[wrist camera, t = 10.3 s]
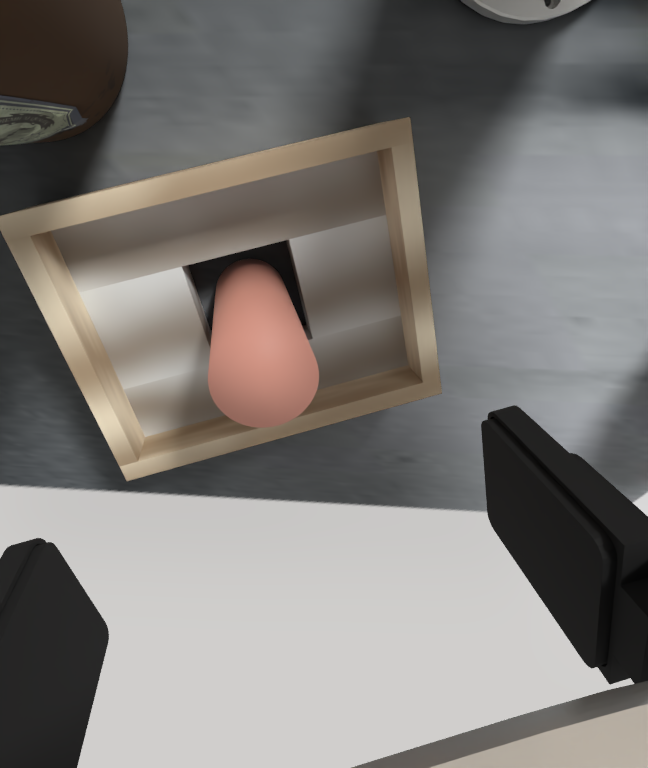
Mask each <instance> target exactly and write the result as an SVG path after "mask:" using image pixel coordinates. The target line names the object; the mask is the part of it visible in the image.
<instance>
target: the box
mask: <svg viewBox="0 0 648 768" xmlns="http://www.w3.org/2000/svg"><path fill="white" fill-rule="evenodd" d="M0 231H1V233H2V235H3V237H4V239H5V241H6V243H7V245H8V247H9V248H10V250H11V252H12V254H13V256H14V258H15V260H16V262H17V264H18V266H19V268H20V270H21V272H22V274H23V276H24V278H25V280H26V282H27V284H28V286H29V288H30V290H31V292H32V294H33V296H34V298H35V300H36V302H37V304H38V306H39V308H40V310H41V312H42V314H43V316H44V318H45V320H46V322H47V324H48V326H49V328H50V330H51V332H52V334H53V336H54V338H55V340H56V342H57V344H58V346H59V348H60V350H61V352H62V353H63V355H64V357H65V359H66V361H67V363H68V365H69V367H70V369H71V371H72V373H73V375H74V377H75V379H76V381H77V383H78V385H79V387H80V389H81V391H82V393H83V395H84V397H85V399H86V401H87V403H88V405H89V407H90V409H91V411H92V413H93V415H94V417H95V419H96V421H97V423H98V425H99V427H100V429H101V431H102V433H103V435H104V437H105V439H106V441H107V443H108V445H109V447H110V449H111V451H112V453H113V455H114V457H115V458H116V460H117V462H118V464H119V466H120V468H121V470H122V472H123V474H124V476H125V478H126V480H127V481H129V480H133V479H137V478H140V477H144V476H147V475H151V474H155V473H158V472H162V471H165V470H169V469H173V468H176V467H180V466H183V465H187V464H190V463H194V462H198V461H201V460H205V459H208V458H212V457H216V456H219V455H223V454H226V453H230V452H233V451H237V450H241V449H244V448H248V447H251V446H255V445H259V444H262V443H266V442H269V441H273V440H277V439H280V438H284V437H287V436H291V435H294V434H298V433H302V432H305V431H309V430H312V429H316V428H320V427H323V426H327V425H330V424H334V423H337V422H341V421H345V420H348V419H352V418H355V417H359V416H363V415H366V414H370V413H373V412H377V411H381V410H384V409H388V408H391V407H395V406H398V405H402V404H406V403H409V402H413V401H416V400H420V399H424V398H427V397H431V396H434V395H438V394H441V393H442V390H441V382H440V373H439V364H438V356H437V347H436V338H435V329H434V321H433V312H432V303H431V294H430V286H429V277H428V268H427V260H426V251H425V242H424V233H423V225H422V216H421V207H420V198H419V190H418V181H417V172H416V164H415V155H414V146H413V137H412V129H411V120H410V117H407V118H402V119H396V120H391V121H385V122H380V123H376V124H371V125H367V126H363V127H359V128H355V129H351V130H347V131H342V132H338V133H334V134H330V135H326V136H322V137H317V138H313V139H309V140H305V141H301V142H297V143H293V144H288V145H284V146H280V147H276V148H272V149H268V150H264V151H259V152H255V153H251V154H247V155H243V156H239V157H235V158H230V159H226V160H222V161H218V162H214V163H210V164H206V165H201V166H197V167H193V168H189V169H185V170H181V171H177V172H172V173H168V174H164V175H160V176H156V177H152V178H148V179H143V180H139V181H135V182H131V183H127V184H123V185H118V186H114V187H110V188H106V189H102V190H98V191H94V192H89V193H85V194H81V195H77V196H73V197H69V198H65V199H60V200H56V201H52V202H48V203H44V204H40V205H36V206H32V207H29V208H25V209H22V210H18V211H15V212H11V213H8V214H4V215H1V216H0ZM285 240H286V242H287V246H288V250H289V254H290V258H291V262H292V267H293V271H294V275H295V279H296V283H297V287H298V291H299V295H300V299H301V304H302V308H303V312H304V316H305V320H306V324H307V325H304V326H302V327H303V330H304V332H305V334H306V337H307V339H308V341H309V344H310V346H311V349H312V351H313V353H314V356H315V358H316V361H317V364H318V369H319V383H318V388H317V391H316V394H315V396H314V398H313V400H312V401H311V403H310V404H309V406H308V407H307V408H306V409H305V410H304V411H303V412H302V413H301V414H300V415H298V416H297V417H296V418H294V419H292V420H291V421H289V422H287V423H284V424H281V425H278V426H274V427H266V428H257V427H250V426H246V425H243V424H240V423H238V422H236V421H234V420H232V419H230V418H229V417H227V416H226V415H225V414H224V413H223V412H222V411H221V410H220V409H219V408H218V407H217V405H216V404H215V402H214V401H213V399H212V396H211V394H210V391H209V386H208V369H209V358H210V347H211V336H212V333H211V330H210V327H209V324H208V321H207V318H206V315H205V313H204V310H203V307H202V304H201V301H200V298H199V295H198V292H197V289H196V286H195V283H194V280H193V278H192V275H191V272H190V269H189V266H188V265H190V264H194V263H198V262H202V261H206V260H210V259H214V258H218V257H222V256H226V255H230V254H233V253H237V252H241V251H245V250H249V249H253V248H257V247H261V246H265V245H269V244H273V243H277V242H281V241H285Z"/></svg>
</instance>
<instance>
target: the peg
mask: <svg viewBox="0 0 648 768" xmlns="http://www.w3.org/2000/svg"><path fill="white" fill-rule="evenodd" d="M318 383H319V369H318V364H317V361H316V358H315V356H314V353H313V351H312V349H311V346H310V344H309V341H308V339H307V337H306V334H305V332H304V330H303V327H302V325H301V322H300V320H299V318H298V315H297V313H296V310H295V308H294V306H293V303H292V301H291V299H290V296H289V294H288V291H287V289H286V287H285V284H284V282H283V280H282V278H281V276H280V274H279V273H278V272H277V270H276V269H275V268H274V267H272V266H271V265H270V264H268V263H266V262H264V261H261V260H258V259H242V260H239V261H236V262H234V263H232V264H231V265H229V266H228V267H227V268H226V269H225V270H224V271H223V272H222V273H221V275H220V277H219V279H218V281H217V285H216V293H215V304H214V315H213V326H212V336H211V347H210V358H209V369H208V386H209V391H210V394H211V396H212V399H213V401H214V402H215V404H216V405H217V407H218V408H219V409H220V410H221V411H222V412H223V413H224V414H225V415H226V416H227V417H229V418H230V419H232V420H234V421H236V422H238V423H240V424H243V425H246V426H250V427H257V428H266V427H274V426H278V425H281V424H284V423H287V422H289V421H291V420H292V419H294V418H296V417H297V416H298V415H300V414H301V413H302V412H303V411H304V410H305V409H306V408H307V407H308V406H309V404H310V403H311V401H312V400H313V398H314V396H315V394H316V391H317V388H318Z"/></svg>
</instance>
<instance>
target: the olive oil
mask: <svg viewBox="0 0 648 768" xmlns="http://www.w3.org/2000/svg"><path fill="white" fill-rule="evenodd" d="M127 57H128V35H127V26H126V20H125V15H124V11H123V7H122V3H121V0H0V145H13V144H25V143H42V142H52V141H58V140H63V139H67V138H70V137H73V136H75V135H77V134H80V133H82V132H83V131H85V130H87V129H88V128H90V127H91V126H93V125H94V124H95V123H96V122H98V121H99V120H100V119H101V118H102V117H103V116H104V115H105V113H106V112H107V111H108V110H109V108H110V107H111V106H112V104H113V102H114V101H115V99H116V97H117V95H118V93H119V91H120V88H121V86H122V83H123V79H124V76H125V71H126V66H127Z"/></svg>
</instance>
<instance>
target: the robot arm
mask: <svg viewBox="0 0 648 768" xmlns="http://www.w3.org/2000/svg"><path fill="white" fill-rule="evenodd" d="M461 1H462V2H463V3H464V4H466V5H467V6H469V7H470V8H472V9H473V10H475V11H476V12H478V13H479V14H481V15H482V16H485V17H488V18H491V19H494V20H497V21H500V22H503V23H513V24H531V23H537V22H543V21H548V20H551V19H553V18H556V17H558V16H561V15H564V14H567V13H569V12H571V11H573V10H575V9H576V8H578V7H580V6H582V5H584V4H586V3H587V2H589V1H591V0H546V5H545V2H544V0H461ZM481 429H482V443H483V457H484V471H485V485H486V499H487V512H488V517H489V520H490V523H491V525H492V527H493V529H494V531H495V532H496V533H497V535H498V536H499V538H500V539H501V541H502V542H503V544H504V545H505V547H506V548H507V550H508V551H509V553H510V554H511V555H512V557H513V558H514V560H515V561H516V563H517V564H518V566H519V567H520V569H521V570H522V572H523V573H524V574H525V576H526V577H527V579H528V580H529V582H530V583H531V585H532V586H533V588H534V589H535V591H536V592H537V594H538V595H539V597H540V598H541V599H542V601H543V602H544V604H545V605H546V607H547V608H548V609H549V611H550V613H551V614H552V616H553V617H554V619H555V620H556V621H557V623H558V624H559V626H560V627H561V629H562V630H563V632H564V633H565V635H566V636H567V638H568V639H569V640H570V642H571V643H572V645H573V646H574V648H575V649H576V651H577V652H578V654H579V655H580V657H581V658H582V659H583V661H584V662H585V663H586V664H587V665H588V666H589V667H590V668H595V667H598V668H599V670H600V671H601V672H602V674H603V675H604V677H605V678H606V680H607V681H608V683H609V684H613V683H616V682H619V681H622V680H625V679H628V678H631V679H632V681H633V682H634V683H635V684H633V685H629V686H624V687H619V688H616V689H611V690H607V691H604V692H600V693H596V694H593V695H589V696H586V697H583V698H579V699H576V700H572V701H569V702H566V703H562V704H558V705H555V706H551V707H548V708H544V709H541V710H538V711H534V712H530V713H527V714H524V715H520V716H517V717H513V718H511V719H507V720H504V721H501V722H497V723H494V724H491V725H488V726H484V727H481V728H478V729H475V730H471V731H468V732H465V733H462V734H458V735H455V736H452V737H449V738H446V739H442V740H439V741H436V742H433V743H430V744H426V745H423V746H420V747H416V748H413V749H410V750H407V751H404V752H400V753H398V754H394V755H391V756H387V757H384V758H381V759H378V760H374V761H371V762H368V763H365V764H362V765H359V766H355V767H352V768H648V516H646V515H645V514H644V513H643V512H642V511H641V510H640V509H639V508H637V507H636V506H635V505H634V504H633V503H632V502H631V501H630V500H628V499H627V498H626V497H625V496H624V495H623V494H622V493H621V492H620V491H618V490H617V489H616V488H615V487H614V486H613V485H612V484H611V483H609V482H608V481H607V480H606V479H605V478H604V477H603V476H602V475H600V474H599V473H598V472H597V471H596V470H595V469H594V468H593V467H592V466H590V465H589V464H588V463H587V462H586V461H585V460H584V459H582V458H581V457H580V456H578V455H577V454H573V453H569V452H567V451H566V450H565V449H564V448H563V447H562V446H561V445H560V444H559V443H558V442H556V441H555V440H554V439H553V438H552V437H551V436H550V435H549V434H548V433H547V432H545V431H544V430H543V429H542V428H541V427H540V426H539V425H538V424H537V423H536V422H535V421H533V420H532V419H531V418H530V417H529V416H528V415H527V414H526V413H525V412H524V411H522V410H521V409H520V408H519V407H517V406H510V407H507V408H503V409H500V410H496V411H492V412H490V413H489V414H488V420H485V421H483V422H482V424H481ZM108 639H109V634H108V628H107V625H106V623H105V621H104V620H103V618H102V617H101V615H100V613H99V612H98V610H97V609H96V607H95V606H94V604H93V603H92V601H91V600H90V598H89V597H88V595H87V594H86V592H85V590H84V589H83V587H82V586H81V584H80V583H79V581H78V579H77V578H76V576H75V575H74V573H73V572H72V570H71V569H70V567H69V566H68V564H67V562H66V561H65V559H64V558H63V556H62V555H61V553H60V552H59V550H58V549H57V547H56V546H55V545H54V544H53V543H51V542H48V543H46V541H45V540H43V539H41V538H36V539H33V540H29V541H26V542H22V543H19V544H15V545H11V546H10V547H8V548H7V549H6V550H5V551H4V553H3V555H2V557H1V558H0V768H77V765H78V761H79V757H80V753H81V749H82V745H83V741H84V737H85V733H86V729H87V725H88V721H89V717H90V713H91V709H92V705H93V701H94V697H95V693H96V689H97V684H98V681H99V676H100V673H101V669H102V665H103V661H104V656H105V653H106V649H107V645H108Z"/></svg>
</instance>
